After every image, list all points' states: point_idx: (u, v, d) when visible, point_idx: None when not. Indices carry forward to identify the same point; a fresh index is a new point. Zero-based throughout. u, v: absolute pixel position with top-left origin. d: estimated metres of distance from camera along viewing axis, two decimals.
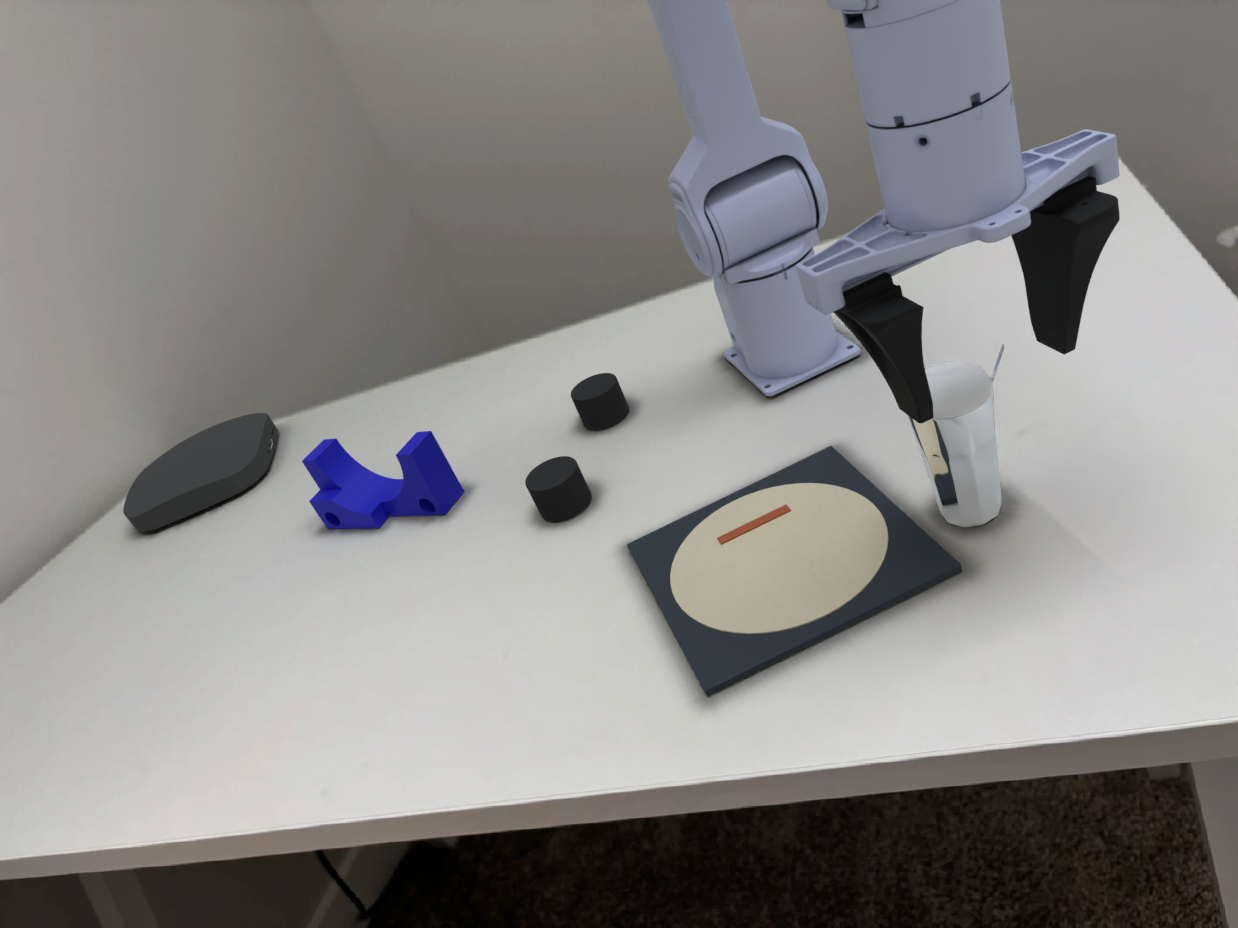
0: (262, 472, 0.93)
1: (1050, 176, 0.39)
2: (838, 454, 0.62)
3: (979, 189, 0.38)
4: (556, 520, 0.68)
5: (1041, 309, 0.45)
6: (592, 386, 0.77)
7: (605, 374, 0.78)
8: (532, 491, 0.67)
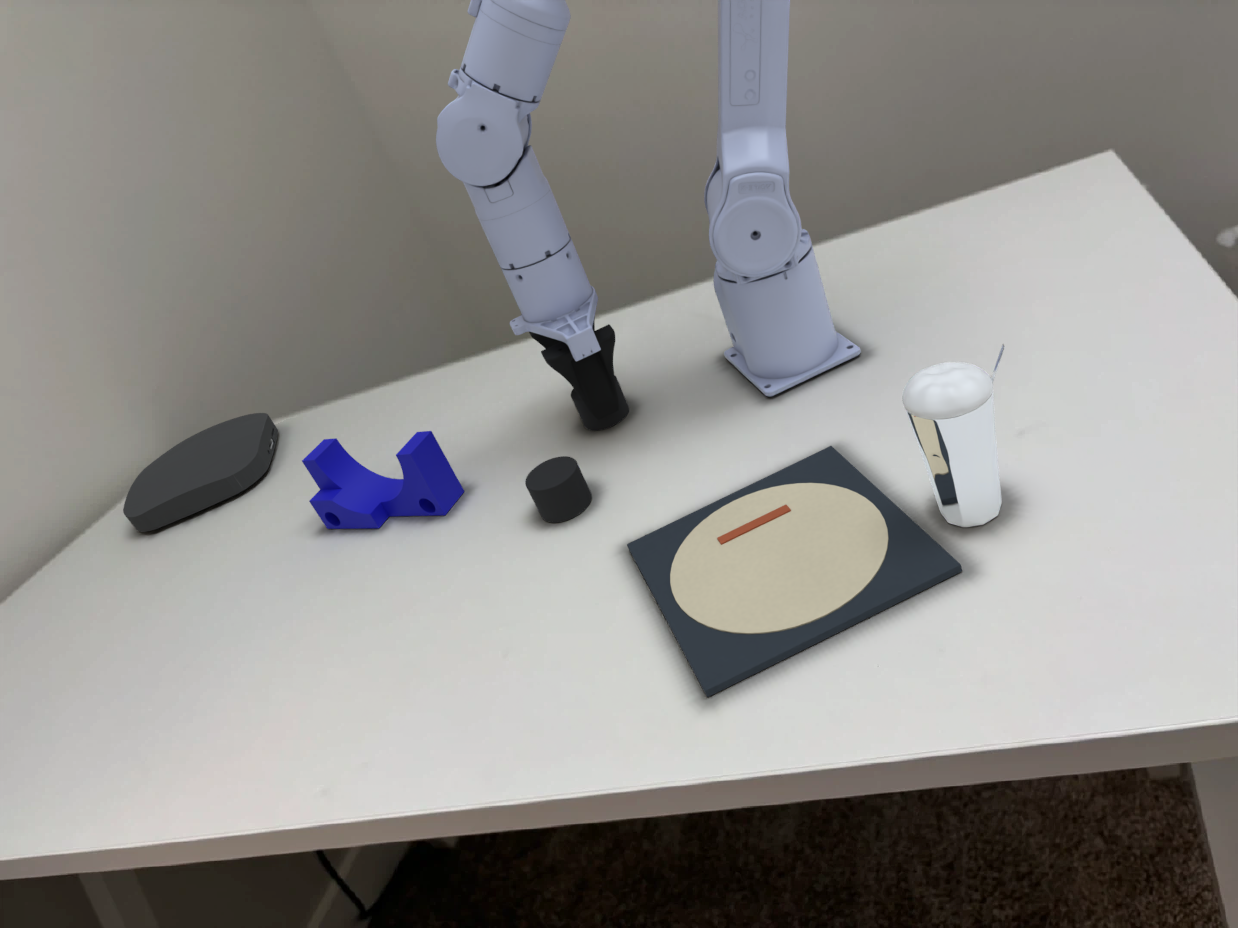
0: (262, 472, 0.93)
1: (543, 327, 0.70)
2: (838, 454, 0.62)
3: None
4: (556, 520, 0.68)
5: None
6: None
7: None
8: (532, 491, 0.67)
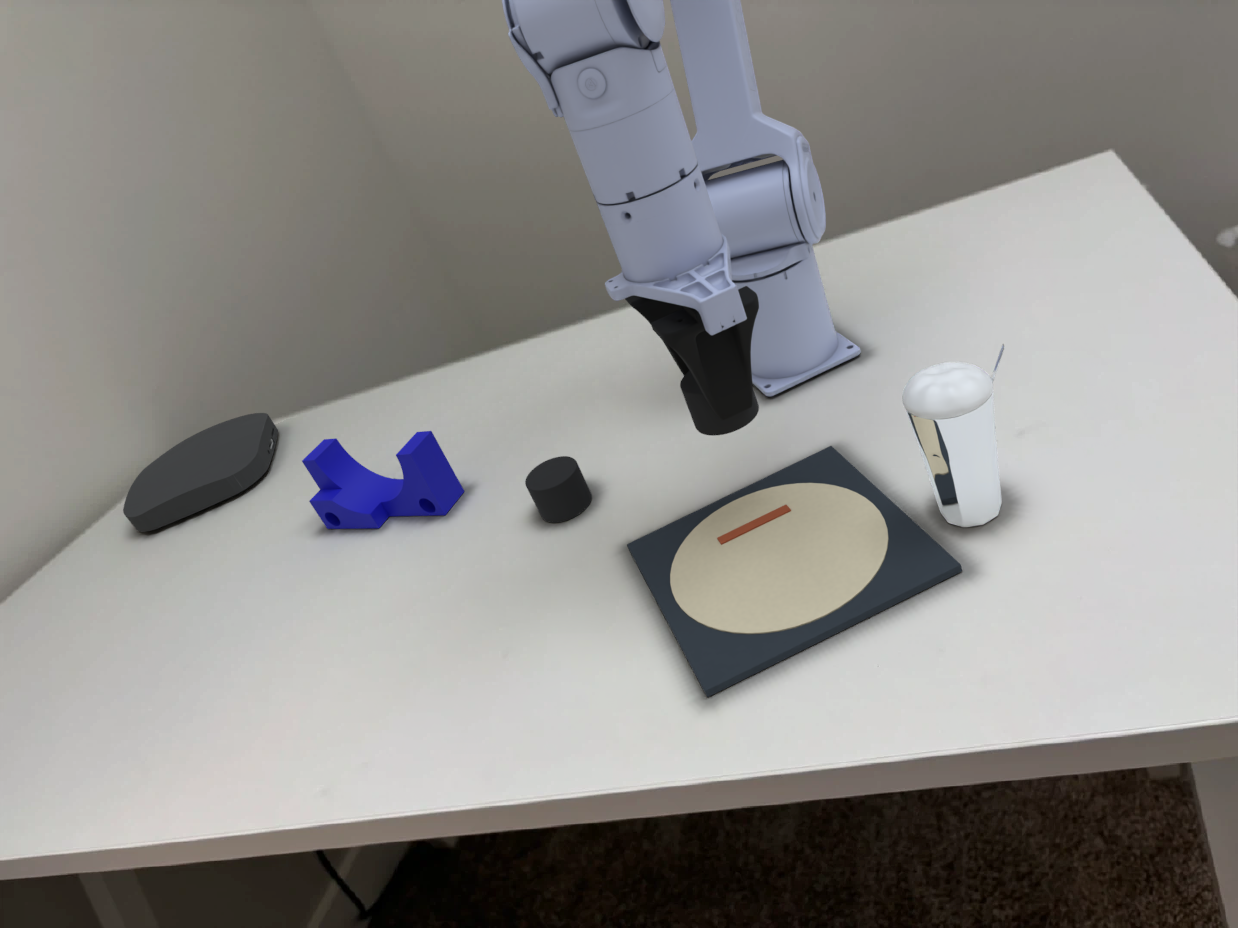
0: (262, 472, 0.93)
1: (658, 288, 0.49)
2: (838, 454, 0.62)
3: None
4: (556, 520, 0.68)
5: None
6: None
7: None
8: (532, 491, 0.67)
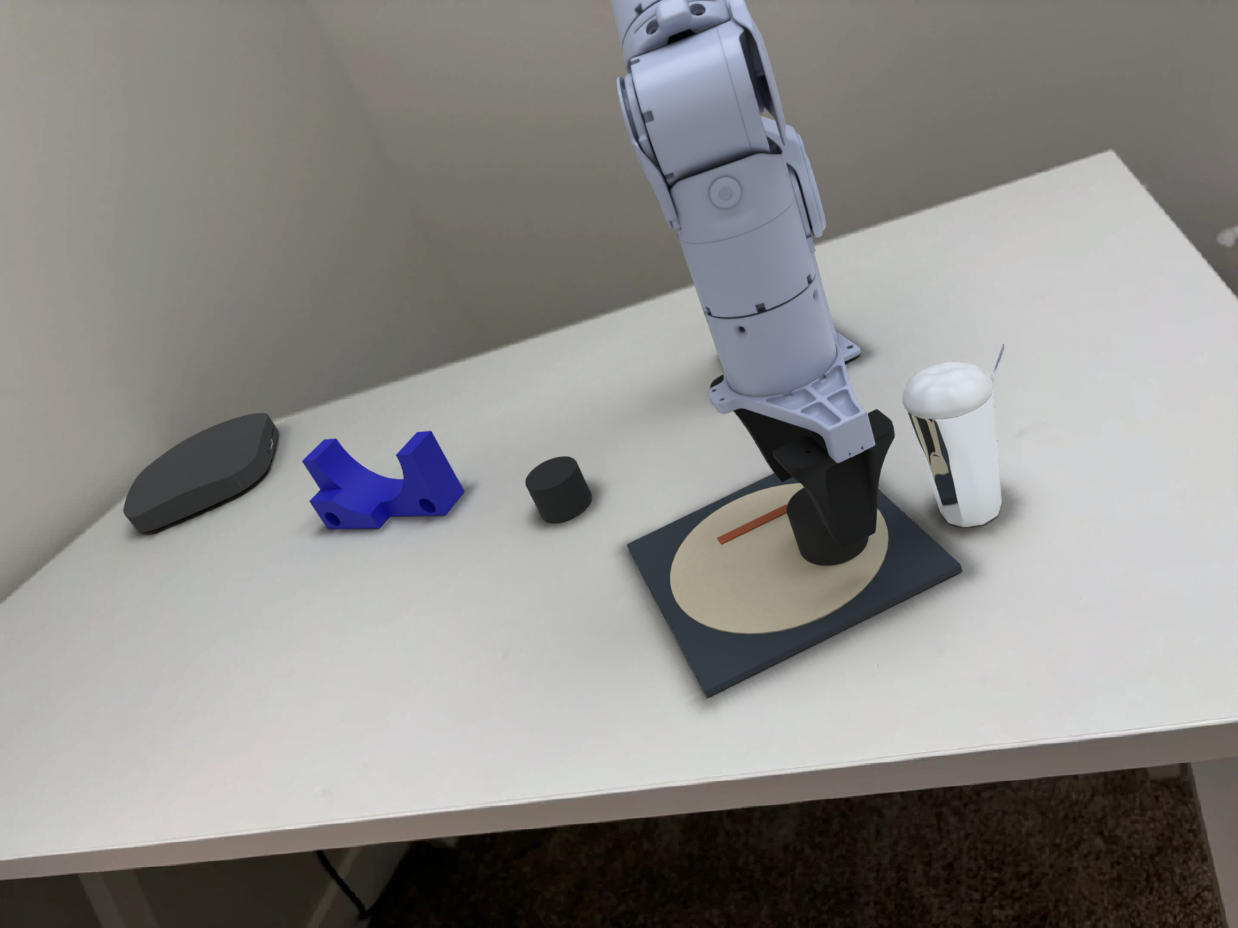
0: (262, 472, 0.93)
1: (773, 405, 0.46)
2: None
3: (722, 364, 0.48)
4: (556, 520, 0.68)
5: None
6: None
7: None
8: (532, 491, 0.67)
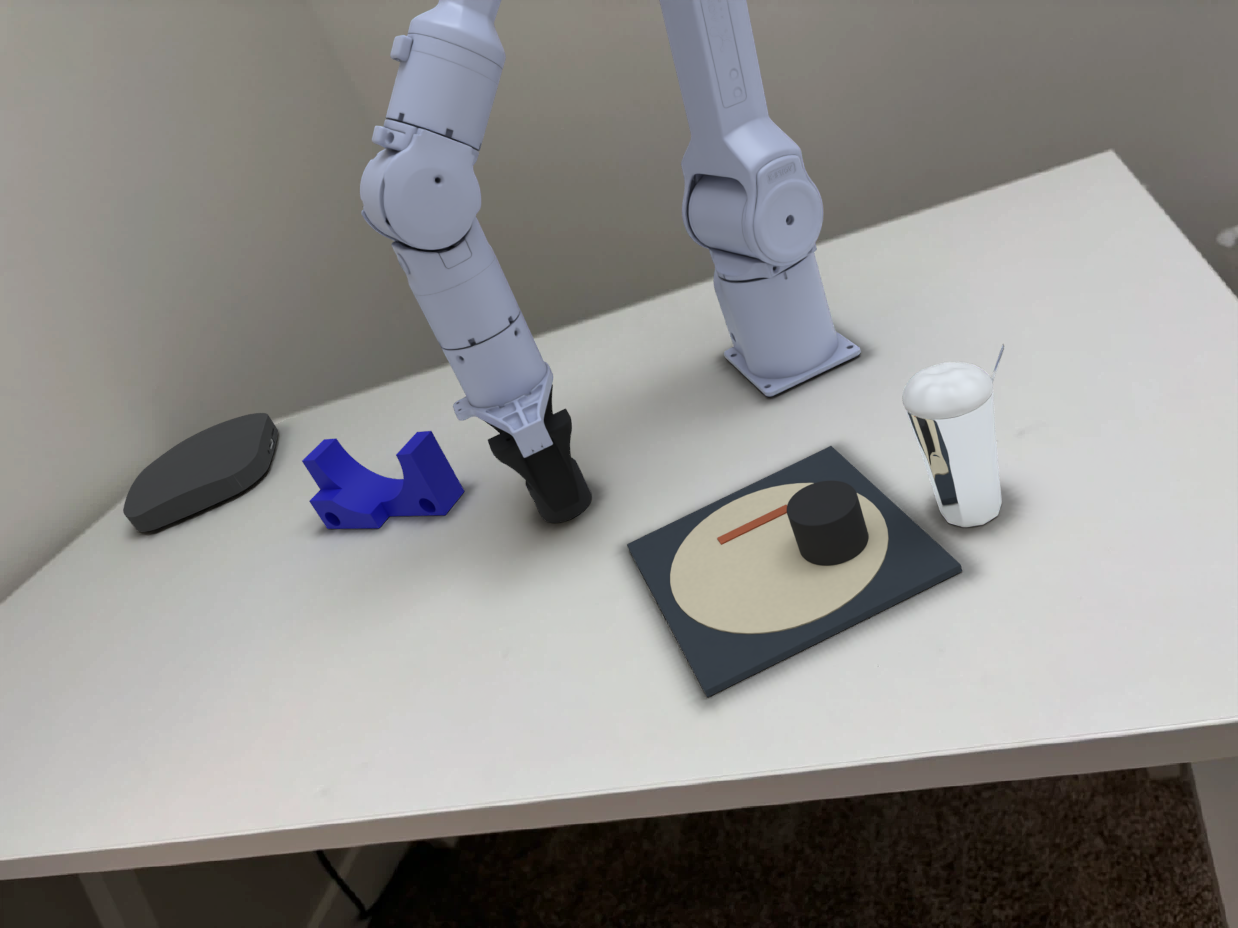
0: (262, 472, 0.93)
1: (488, 415, 0.61)
2: (838, 454, 0.62)
3: None
4: (556, 520, 0.68)
5: None
6: (818, 501, 0.53)
7: (834, 484, 0.54)
8: (532, 491, 0.67)
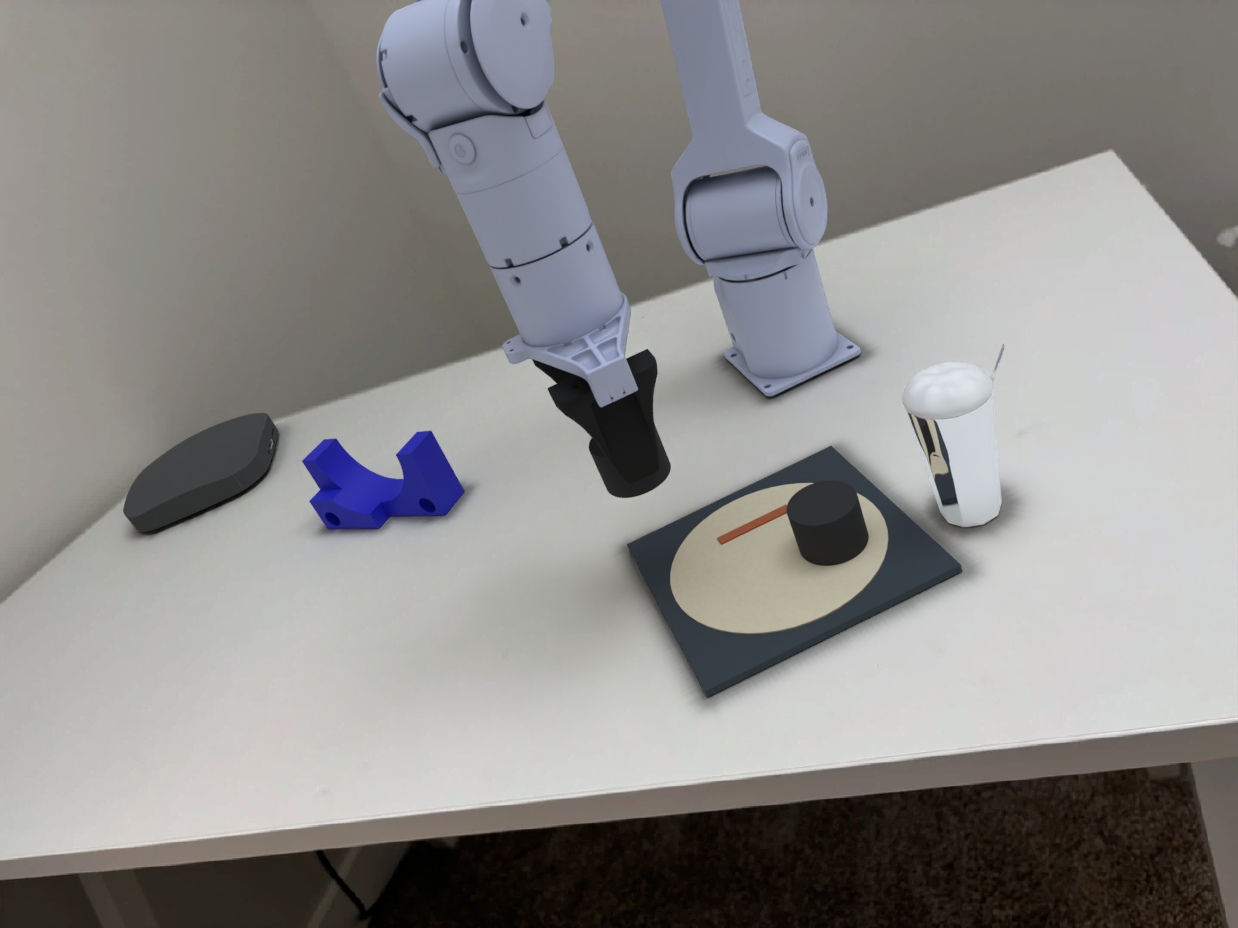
0: (262, 472, 0.93)
1: (550, 354, 0.47)
2: (838, 454, 0.62)
3: None
4: (628, 495, 0.54)
5: None
6: (818, 501, 0.53)
7: (834, 484, 0.54)
8: (599, 457, 0.53)
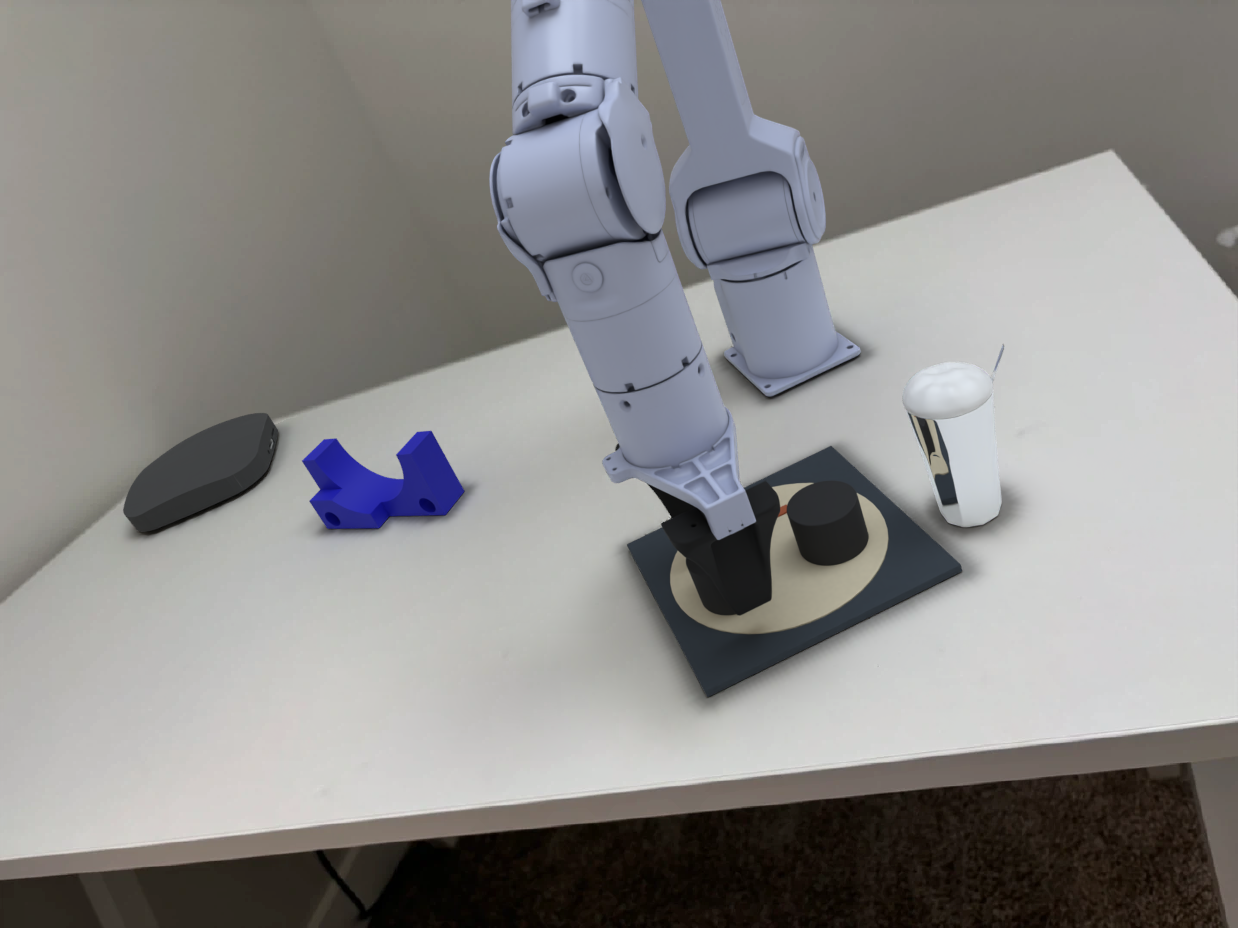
0: (262, 472, 0.93)
1: (659, 478, 0.46)
2: (838, 454, 0.62)
3: None
4: (727, 613, 0.53)
5: None
6: (818, 501, 0.53)
7: (834, 484, 0.54)
8: (699, 576, 0.52)
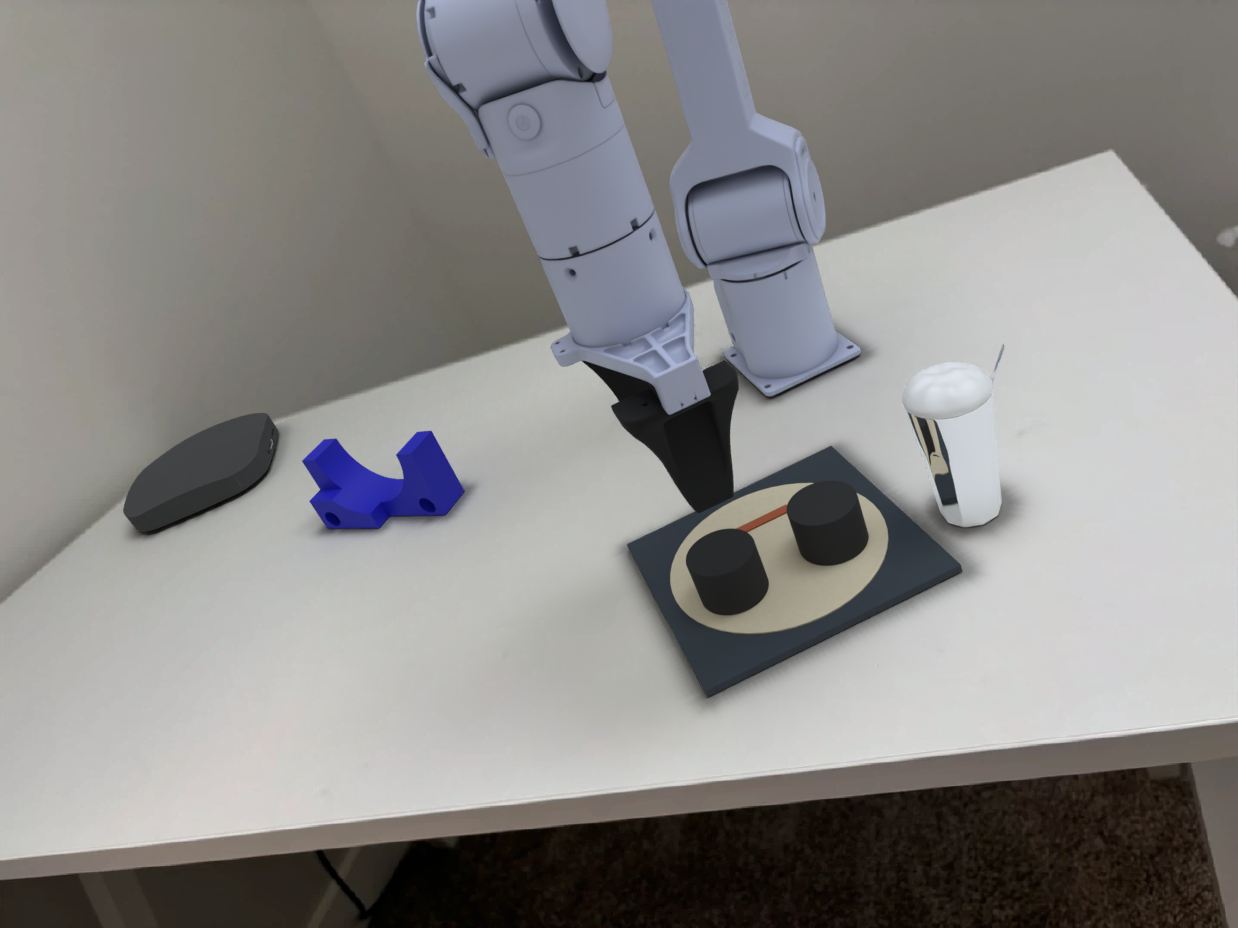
0: (262, 472, 0.93)
1: (609, 355, 0.42)
2: (838, 454, 0.62)
3: (563, 314, 0.45)
4: (727, 613, 0.53)
5: None
6: (818, 501, 0.53)
7: (834, 484, 0.54)
8: (699, 576, 0.52)
